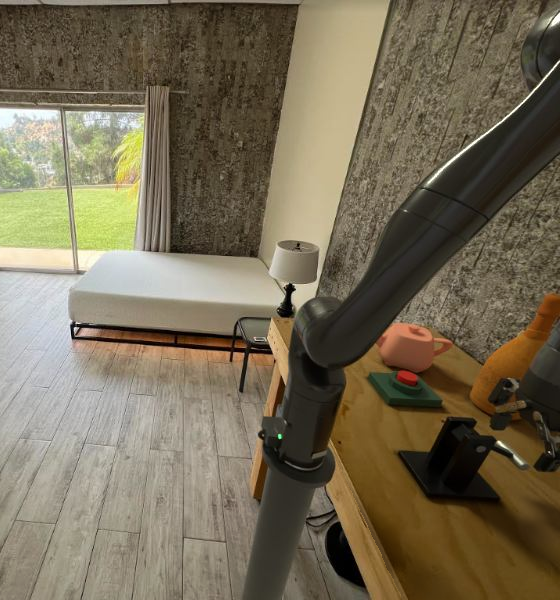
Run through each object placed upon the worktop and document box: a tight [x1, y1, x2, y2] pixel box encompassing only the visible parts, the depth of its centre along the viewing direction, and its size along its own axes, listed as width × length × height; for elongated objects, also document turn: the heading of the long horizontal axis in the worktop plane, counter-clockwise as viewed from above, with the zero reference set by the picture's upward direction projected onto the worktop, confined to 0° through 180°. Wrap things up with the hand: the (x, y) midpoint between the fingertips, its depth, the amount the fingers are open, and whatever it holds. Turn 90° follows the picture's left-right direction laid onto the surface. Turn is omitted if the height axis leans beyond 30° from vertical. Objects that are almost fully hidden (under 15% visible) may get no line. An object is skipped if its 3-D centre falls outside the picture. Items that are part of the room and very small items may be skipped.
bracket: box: [397, 416, 502, 503], centre depth 58 cm, size 12×9×13 cm
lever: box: [451, 423, 531, 472], centre depth 56 cm, size 12×5×2 cm, turn 86°
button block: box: [367, 370, 444, 408], centre depth 81 cm, size 12×10×4 cm
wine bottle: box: [469, 292, 560, 421], centre depth 70 cm, size 10×10×30 cm
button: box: [396, 370, 418, 386], centre depth 80 cm, size 4×4×2 cm
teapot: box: [375, 322, 454, 374], centre depth 91 cm, size 13×20×12 cm, turn 58°
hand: (517, 448), depth 56 cm, fingers open, 8 cm apart
